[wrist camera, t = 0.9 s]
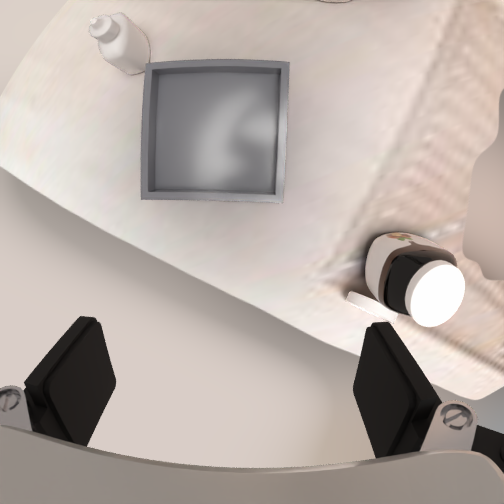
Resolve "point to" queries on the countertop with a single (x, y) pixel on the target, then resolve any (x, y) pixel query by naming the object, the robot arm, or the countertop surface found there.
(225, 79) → the dish
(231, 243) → the countertop surface
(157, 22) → the countertop surface
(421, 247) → the spread jar
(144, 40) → the eye dropper bottle
